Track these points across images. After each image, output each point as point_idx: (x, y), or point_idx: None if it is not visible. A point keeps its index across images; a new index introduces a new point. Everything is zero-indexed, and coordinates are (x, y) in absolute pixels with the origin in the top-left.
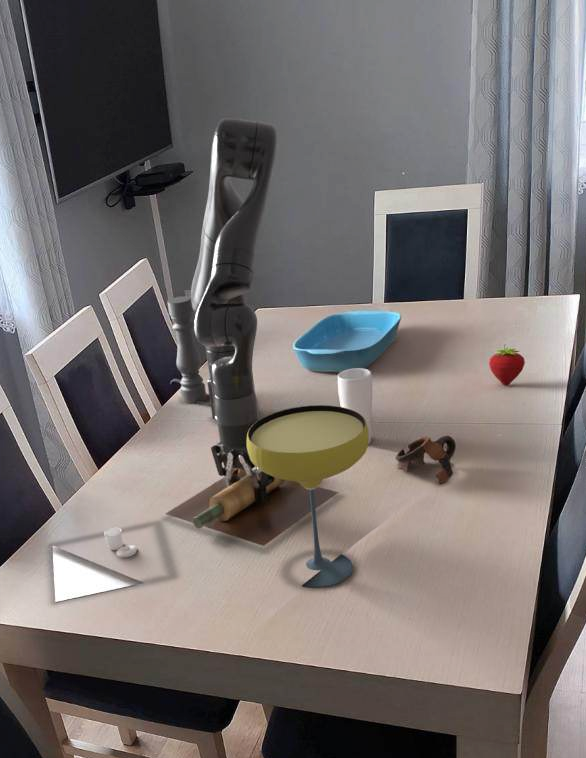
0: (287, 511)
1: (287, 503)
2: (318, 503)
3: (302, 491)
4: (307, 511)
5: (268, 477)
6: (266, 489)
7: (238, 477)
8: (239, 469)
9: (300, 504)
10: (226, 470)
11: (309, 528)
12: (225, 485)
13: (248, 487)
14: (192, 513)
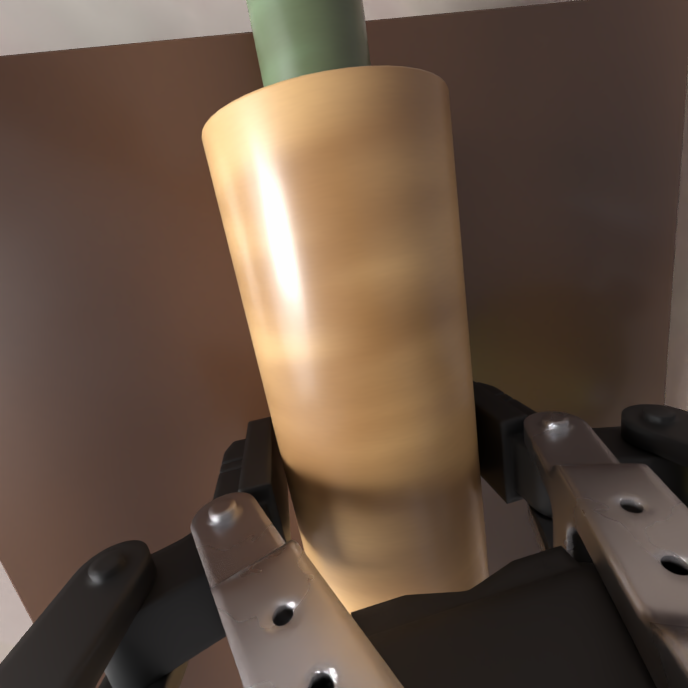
0: (580, 344)
1: (532, 288)
2: (665, 181)
3: (515, 121)
4: (660, 281)
5: (678, 466)
6: (533, 410)
7: (262, 492)
8: (281, 541)
9: (594, 251)
10: (181, 643)
11: (678, 339)
12: (27, 385)
13: (479, 534)
14: (214, 663)
